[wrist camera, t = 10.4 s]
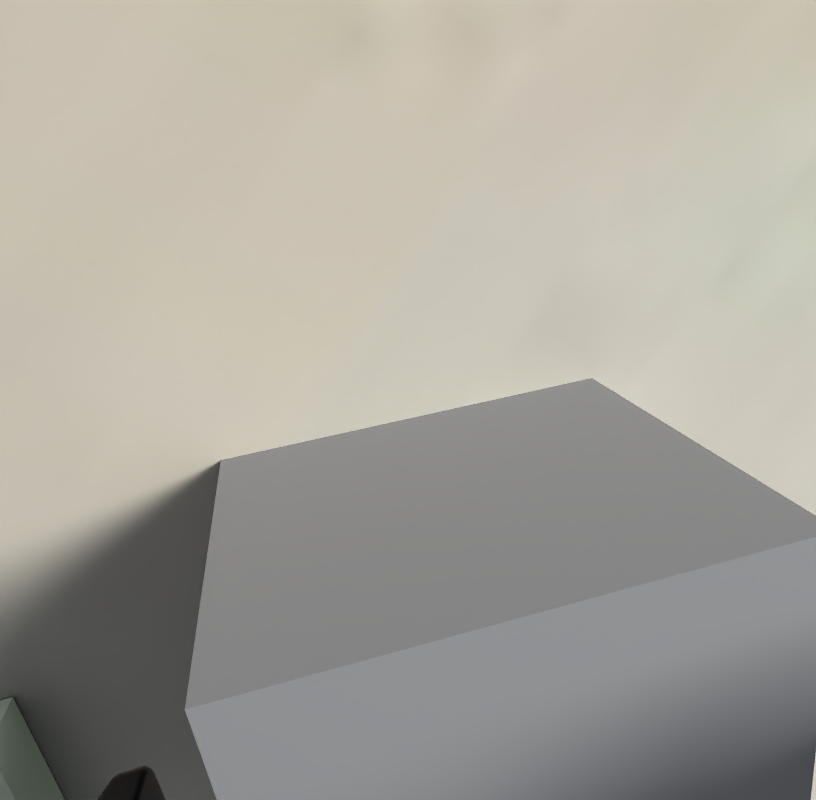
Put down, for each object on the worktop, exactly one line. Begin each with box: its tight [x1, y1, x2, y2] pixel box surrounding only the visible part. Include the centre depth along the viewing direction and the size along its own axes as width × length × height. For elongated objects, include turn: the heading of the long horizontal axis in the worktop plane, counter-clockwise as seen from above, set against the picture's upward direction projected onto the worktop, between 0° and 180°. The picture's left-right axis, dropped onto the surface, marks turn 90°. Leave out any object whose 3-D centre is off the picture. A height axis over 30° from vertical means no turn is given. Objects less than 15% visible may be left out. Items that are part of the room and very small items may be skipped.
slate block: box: [185, 378, 816, 800], centre depth 9 cm, size 6×6×5 cm
